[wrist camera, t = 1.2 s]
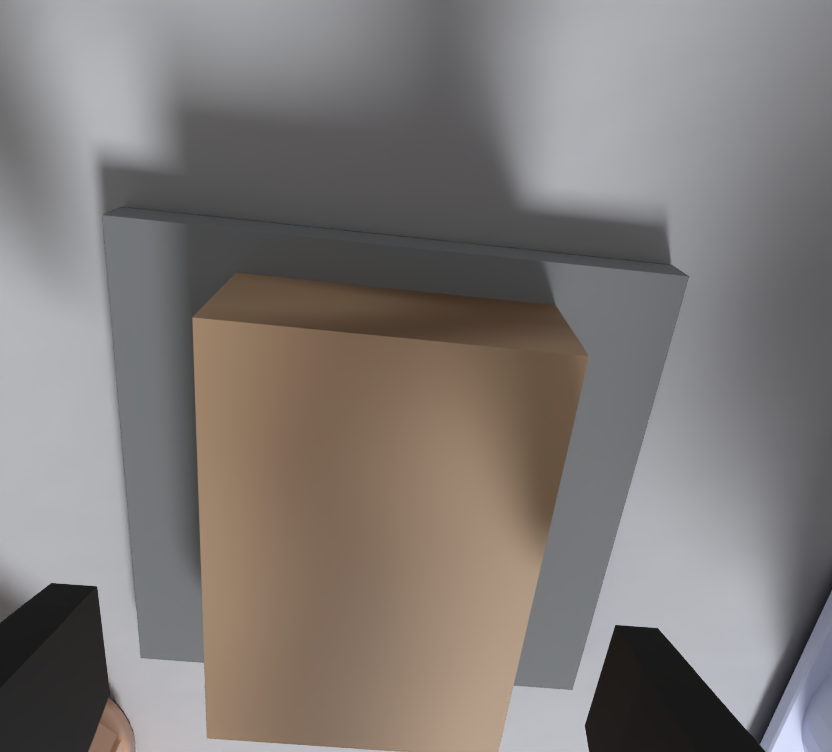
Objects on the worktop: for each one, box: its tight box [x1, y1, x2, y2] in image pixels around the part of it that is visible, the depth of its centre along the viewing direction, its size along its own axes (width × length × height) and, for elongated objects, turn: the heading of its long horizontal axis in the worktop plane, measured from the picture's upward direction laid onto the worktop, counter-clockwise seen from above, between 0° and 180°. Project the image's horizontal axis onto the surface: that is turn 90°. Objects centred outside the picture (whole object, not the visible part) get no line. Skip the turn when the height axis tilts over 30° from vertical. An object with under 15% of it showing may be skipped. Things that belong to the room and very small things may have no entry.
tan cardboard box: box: [192, 273, 589, 752], centre depth 12 cm, size 6×8×2 cm, turn 174°
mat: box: [102, 207, 689, 690], centre depth 13 cm, size 10×10×1 cm
